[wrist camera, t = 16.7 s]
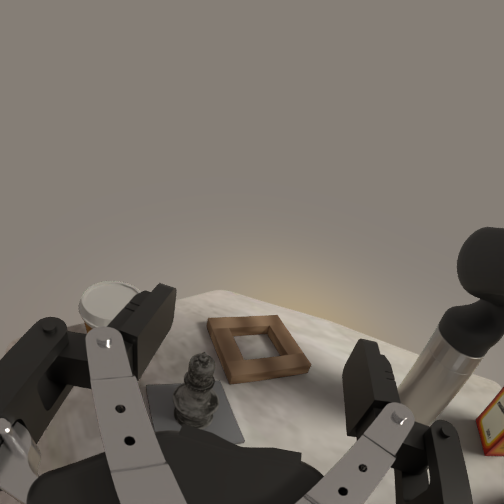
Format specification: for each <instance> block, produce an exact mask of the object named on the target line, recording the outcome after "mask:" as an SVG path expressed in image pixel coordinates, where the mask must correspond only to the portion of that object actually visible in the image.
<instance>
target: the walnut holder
mask: <svg viewBox="0 0 504 504" xmlns="http://www.w3.org/2000/svg"><path fill="white" fill-rule="evenodd" d="M207 329H208V331H209V334H210V337H211V339H212V342H213V344H214V347H215V349H216V352H217V355H218V357H219V360H220V362H221V364H222V367H223V369H224V372H225V374H226V377H227V379H228V382H229V384H237V383H245V382H253V381H260V380H267V379H274V378H280V377H286V376H292V375H298V374H303V373H308V371H309V369H310V367H311V363H310V362H309V360H308V359H307V358H306V356H305V355H304V353H303V352H302V350H301V349H300V347H299V346H298V344H297V343H296V342H295V340H294V339H293V337H292V336H291V334H290V333H289V331H288V330H287V328H286V327H285V325H284V324H283V323H282V321H281V320H280V318H279V317H278V315H269V316H249V317H222V318H208V321H207ZM257 334H268V336H269V338H270V339H271V341H272V343H273V344H274V346H275V348H276V349H277V351H278V353H279V354H280V356H277V357H268V358H260V359H250V360H244V359H243V357H242V355H241V352H240V350H239V348H238V346H237V344H236V342H235V340H234V338H233V336H243V335H257Z"/></svg>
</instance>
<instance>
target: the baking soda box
mask: <svg viewBox="0 0 504 504" xmlns="http://www.w3.org/2000/svg"><path fill="white" fill-rule="evenodd" d="M476 423H477V427H478V430H479V434H480V438H481V442H482V446H483V451H484V455H485V456H504V387H503V388H502V389H501V391H500V392H499V393H498V394H497V396H496V397H495V398H494V399H493V400H492V402H491V403H490V404H489V405H488V406H487V407H486V409H485V410H484V411H483V412H482V413H481V414H480V415H479V417H478V418H477V419H476Z"/></svg>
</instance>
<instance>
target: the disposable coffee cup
mask: <svg viewBox="0 0 504 504" xmlns="http://www.w3.org/2000/svg"><path fill="white" fill-rule="evenodd" d="M138 293H141V291H140V290H138V289H137V288H136V287H134V286H132V285H130V284H127V283H124V282H119V281H106V282H100V283H96V284H94V285H92V286H90V287H89V288H87V289H86V290H85V292H84V293H83V295H82V298H81V301H80V303H79V313H80V315H81V317H82V319H83V320H84V322H85V325H86V330H87V333H88V332H89V331H90V330H92V329H94V328H96V327H102V326H105V327H107V326H108V324H109V323H110V322H111V321H112V320H113V319H114V318H115V317H116V316H117V314H118V313H119V312H120V311H121V310H122V309H123V308H124V307H125V306H126V305H127V303H129V301H130V300H131V299H132V298H133V297H134V296H135V295H136V294H138Z"/></svg>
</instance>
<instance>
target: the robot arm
mask: <svg viewBox="0 0 504 504" xmlns="http://www.w3.org/2000/svg"><path fill="white" fill-rule="evenodd" d="M457 273H458V278H459V281H460V283H461V285H462V286H463V288H464V289H465V290H466V291H467V292H468V293H470V294H471V295H473V296H475V297H477V298H480V300H479V301H477V302H475V303H472V304H470V305H464V306H455V307H452V308H449V309H448V310H447V311H446V312H445V314H444V315H443V317H442V319H441V321H440V322H439V324H438V326H437V328H436V330H435V332H434V333H433V335H432V336H431V338H430V340H429V341H428V343H427V345H426V346H425V348H424V350H423V351H422V353H421V354H420V356H419V357H418V359H417V361H416V362H415V364H414V365H413V367H412V368H411V370H410V371H409V373H408V374H407V376H406V377H405V378H404V380H403V381H402V383H401V384H400V386H399V387H398V388H397V386H396V382H395V381H394V380H395V378H394V375H393V371H392V367H391V364H390V362H389V361H388V360H387V358H386V357H385V356H384V355H381V354H380V351H379V348H378V344H377V342H374V341H369V340H365V339H359V340H358V342H357V344H356V345H355V347H354V349H353V351H352V353H351V355H350V357H349V358H348V360H347V362H346V364H345V366H344V369H343V374H342V379H343V390H344V402H345V415H346V430H347V436H352V437H357V442H356V443H355V444H354V445H353V446H352V447H351V448H350V449H349V451H348V452H347V453H346V454H345V455H344V456H343V457H342V458H341V459H340V460H339V461H338V462H337V463H336V465H335V466H334V467H333V468H332V469H331V470H330V471H329V472H328V473H327V474H326V475H325V476H323V475H322V474H321V473H320V472H319V471H318V470H316V469H315V468H313V467H312V466H310V465H308V464H306V463H305V462H302V461H301V453H300V452H294V451H288V450H283V449H277V448H249V447H240V446H237V445H235V444H233V443H231V442H229V441H227V440H225V439H223V438H221V437H219V436H217V435H216V434H214V433H212V432H208V431H205V430H202V429H198V428H195V427H192V426H189V425H186V424H183V425H182V427H181V429H180V431H172V430H166V431H157V432H154V430H153V427H152V425H151V422H150V419H149V416H148V413H147V410H146V407H145V404H144V401H143V398H142V395H141V392H140V389H139V386H138V382H137V381H138V380H139V379H140V377H141V376H142V374H143V372H144V371H145V369H146V367H147V366H148V364H149V363H150V361H151V359H152V358H153V356H154V354H155V353H156V351H157V350H158V348H159V346H160V345H161V343H162V342H163V340H164V338H165V337H166V335H167V334H168V332H169V330H170V328H171V326H172V323H173V318H174V310H175V301H176V288H173V287H170V286H167V285H164V284H161V283H159V284H158V285H157V286H156V287H155V288H154V290H153V291H152V292H148V291H143V292H141V293H138V294H136V295H135V296H134V297H133V298H132V299H131V300H130V301H129V303H127V305H126V306H125V307H124V308H123V309H122V310H121V311H120V312H119V313H118V314H117V316H116V317H115V318H114V319H113V320H112V321H111V322H110V323H109V324H108V326H107V327H105V326H102V327H96V328H94V329H92V330H90V331H89V332H88V333H87V334H81V333H75V332H69V331H67V326H66V324H65V322H64V321H62V320H61V319H59V318H55V317H46V318H43V319H40V320H39V321H38V322H36V324H34V325H33V326H32V327H31V328H30V329H29V330H28V331H27V332H26V334H24V335H23V337H22V338H21V339H20V340H19V341H18V342H17V343H16V344H15V345H14V346H13V347H12V348H11V349H10V350H9V351H8V352H7V353H6V354H5V356H4V357H3V358H2V359H1V360H0V491H4V492H5V493H7V494H8V495H10V496H11V497H13V498H14V499H15V500H17V501H18V502H20V503H21V504H364V502H365V501H366V500H367V499H368V497H369V496H370V495H371V493H372V492H373V491H374V489H375V488H376V487H377V485H378V484H379V483H380V481H381V480H382V479H383V477H384V476H385V474H386V473H387V471H388V470H389V469H390V467H391V468H394V474H395V491H396V504H473V501H472V495H471V490H470V485H469V480H468V475H467V470H466V465H465V461H464V457H463V453H462V449H461V445H460V441H459V437H458V433H457V431H456V429H455V428H454V426H453V425H452V424H450V423H449V422H447V421H444V420H437V421H435V422H434V423H433V424H432V425H431V426H430V424H431V423H432V422H433V421H434V420H435V419H436V418H437V417H438V416H439V415H440V413H441V412H442V411H443V410H444V409H445V408H446V406H447V405H448V404H449V403H450V402H451V400H452V399H453V398H454V397H455V395H456V394H457V393H458V392H459V390H460V389H461V388H462V387H463V385H464V384H465V383H466V381H467V380H468V379H469V377H470V376H471V375H472V373H473V372H474V370H475V369H476V367H477V366H478V365H479V363H480V362H481V360H482V359H483V357H484V356H485V354H486V353H487V351H488V350H489V349H490V348H491V347H492V346H493V345H495V344H496V343H497V342H498V341H499V340H500V339H501V338H502V336H503V335H504V228H493V227H485V228H481V229H479V230H477V231H475V232H474V233H473V234H472V235H470V237H469V238H468V239H467V240H466V241H465V243H464V244H463V246H462V248H461V250H460V253H459V256H458V260H457ZM73 386H78V387H83V388H89V389H92V393H93V399H94V405H95V410H96V415H97V420H98V424H99V429H100V433H101V437H102V441H103V445H104V449H105V452H103V453H100V454H97V455H95V456H92V457H89V458H87V459H84V460H81V461H78V462H75V463H73V464H70V465H67V466H64V467H61V468H58V469H55V470H51V471H48V472H46V473H44V474H42V475H41V476H39V475H38V467H39V464H40V461H41V453H40V450H39V448H38V447H37V445H36V444H37V442H38V441H39V439H40V438H41V436H42V434H43V433H44V431H45V429H46V428H47V426H48V425H49V423H50V422H51V420H52V418H53V417H54V415H55V414H56V412H57V411H58V409H59V408H60V406H61V404H62V403H63V401H64V400H65V398H66V397H67V395H68V394H69V392H70V391H71V389H72V388H73ZM429 426H430V427H429ZM428 468H429V473H430V484H429V481H428V474H427V469H428Z"/></svg>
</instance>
